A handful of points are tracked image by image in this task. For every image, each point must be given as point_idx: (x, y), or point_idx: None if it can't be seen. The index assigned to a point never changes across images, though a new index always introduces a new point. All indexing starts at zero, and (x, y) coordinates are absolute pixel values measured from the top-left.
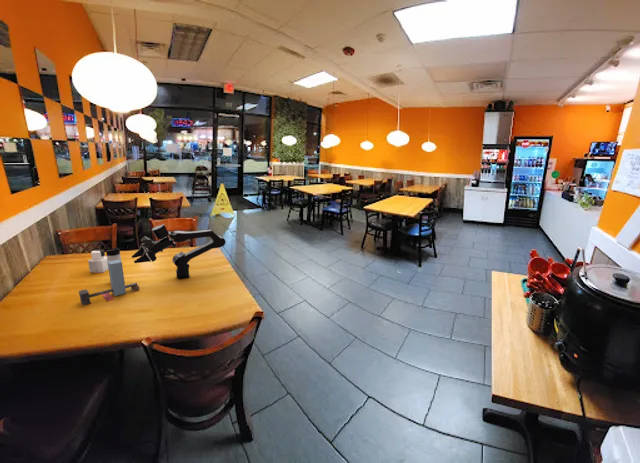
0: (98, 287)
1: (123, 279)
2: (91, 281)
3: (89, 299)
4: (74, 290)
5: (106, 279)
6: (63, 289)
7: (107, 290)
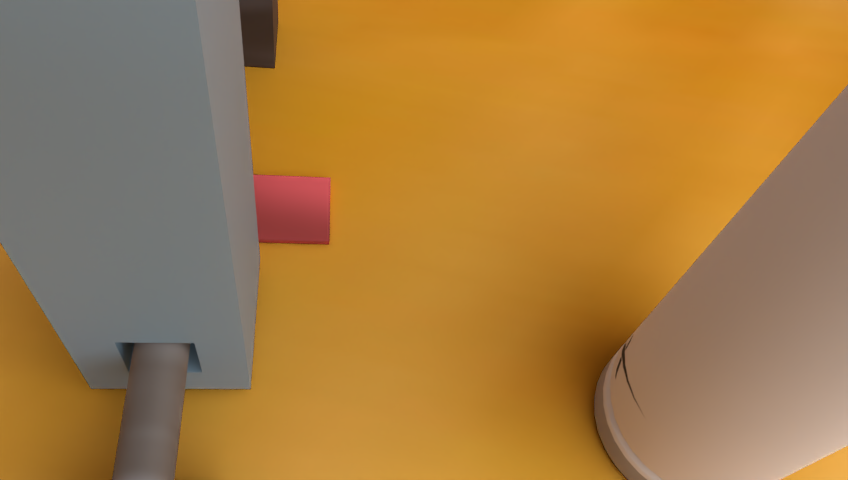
0: (580, 206)
1: (16, 253)
2: None
3: None
4: (624, 48)
5: None
6: (701, 3)
7: None
